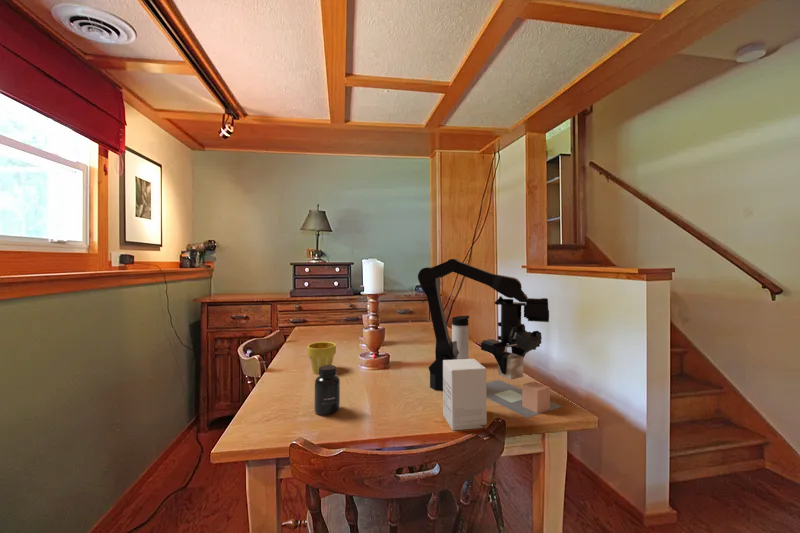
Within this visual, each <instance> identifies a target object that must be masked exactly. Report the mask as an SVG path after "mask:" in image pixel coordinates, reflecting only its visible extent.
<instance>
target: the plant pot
mask: <svg viewBox="0 0 800 533" xmlns="http://www.w3.org/2000/svg"><path fill="white" fill-rule="evenodd" d="M336 353H337V344H336V343H334V342H331V341H318V342H313V343H309V344H308V345H307V357H308V356H309V360H310V365H311V369H312V373H314V374H318V372H319V367H320V366H323V365H333V362H334V356H335V355H336Z"/></svg>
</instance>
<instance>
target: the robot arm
mask: <svg viewBox="0 0 800 533" xmlns="http://www.w3.org/2000/svg"><path fill="white" fill-rule="evenodd" d="M452 273H455V274H457V275H461V276H463V277H466V278H468V279H470V280H473V281H475V282H478V283H481V284H483V285H485V286H488V287H489V288H492V289H493V290H494V291H495V292H497V293H499V294H500V296H499V297H498V299H496V300H495V301H494V305H500V321H499V322H497V327H500V335H498V336H497V340H496V339H493V338H491V339H483V340H482V341H481V342H480V350H481V351H484V352H487V353H489V354H492V355H493V357H494V359H495V360H496V363H497V365H499V367H500V369H501V372H502V373H503V374H506V369H507V357H508V356H509V355H510V353H514V354H517V355H520V356H523V360H524V358H525V357H526V354H528V353H529V352H530V351H532V350H534V351H535V350H537V348H539V347H541V346H540V344H542V339H543V338H542V332H541V331H538V330H534V331H532V332H531V331H527V330H526V325H525V323H522V306H523V318H525V319H527V322H539V323H540V322H541V323H549V322H550V310H549V299H548V298H546V297H541V298H535V297H534V298H531V297H528V296H527V294H526V293H525V292H524V291H523V289H522V287H523V286H522V283H521V281H520V280H519V279H518V278H516V277H513V276H508V275H501V274H495V273H492V272H489V271H486V270H484V269H481V268H478V267H476V266H473V265H470V264H468V263H465V262H462V261H460V260H459V259H457V258H451V259H448V260H447V261H445V262H442V263H439V264H437V265H435V266H431V267H429V266H428V267H423V268H421V269H419V272H418V273H417V280H418V283H419V285H420V286H421V289H422V292H423V294H425V296H426V299H427V304H428V308H429V313H430V318H431V324H432V327H433V332H434V337H435V350H434V351H435V352H434V353H435V355H434V356H435V360H434V361H433V362H432V363H431V364H430V365H429V367H428V371H429V388H430V389H432V390H434V391H440V392H441V391H442V392H443V360H457V358H458V354H459V351H458V349H457V341H454V342H452V338H451V337H450V334H449V329H448V325H447V320H446V315H445V311H444V307H443V301H442V297H441V283H442V282H441V278H444V277H445V276H447V275H450V274H452ZM501 295H502V296H501ZM503 296H504V297H506V298H503ZM514 299H515V300H516V301H518V302H516V301H514ZM508 348H511V352H508Z"/></svg>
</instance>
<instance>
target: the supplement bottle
mask: <svg viewBox="0 0 800 533" xmlns="http://www.w3.org/2000/svg"><path fill="white" fill-rule="evenodd" d="M317 374H318V376H316V378H315V380H314V404H313V405H314V412H315V413H316V414H317V415H318V416H319V415H320V416H331V415H334V414H336V413H338V412H339V410H340V408H341V407H340V405H341V404H340V403H341V402H340V401H341V398H340V397H341V390H340V389H341V387H340V386H341V380H340V377H339V376H338V375H337V365H335V364H334V365H333V364H332V365H323V366H320V367H319V372H318V373H317Z"/></svg>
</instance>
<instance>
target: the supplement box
mask: <svg viewBox="0 0 800 533" xmlns="http://www.w3.org/2000/svg"><path fill="white" fill-rule="evenodd" d="M486 382H487V368H486V367H485V366H484V365H482V364H481V363H480V362H479V361H478V360H476V359H475V358H468V359H457V360H443V391H442V410H443V411H442V414H443V417H444V419H445V420H446V422H447V424H448V425H449V427H450V429H451V430H452V431H463V430H464V431H465V430H475V429H485V427H484V426H483V425H487V423H488V422H487V418H488V416H487V414H488V413H487V411H488V410H487V398H486Z"/></svg>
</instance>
